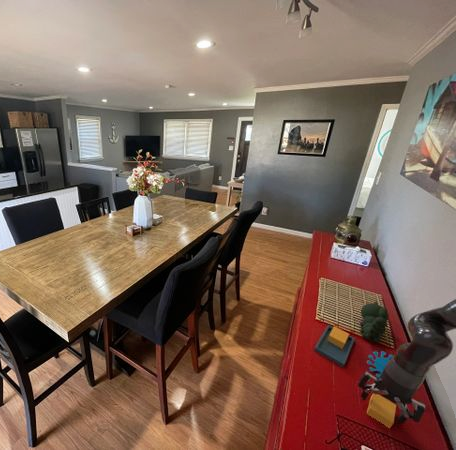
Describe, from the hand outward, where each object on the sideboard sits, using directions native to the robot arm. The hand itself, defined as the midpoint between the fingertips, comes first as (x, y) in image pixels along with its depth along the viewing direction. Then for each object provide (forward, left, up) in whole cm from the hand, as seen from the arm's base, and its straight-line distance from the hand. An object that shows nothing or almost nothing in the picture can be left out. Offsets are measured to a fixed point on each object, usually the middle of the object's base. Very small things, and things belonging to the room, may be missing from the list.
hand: (380, 409), depth 77 cm
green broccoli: (+8, -42, -2) cm, 42 cm away
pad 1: (+17, -23, -1) cm, 29 cm away
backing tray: (+17, -19, -2) cm, 25 cm away
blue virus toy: (+1, -19, -2) cm, 19 cm away
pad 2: (0, 0, -2) cm, 2 cm away
